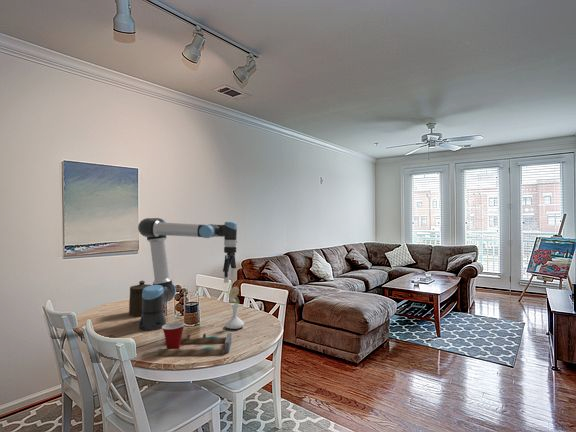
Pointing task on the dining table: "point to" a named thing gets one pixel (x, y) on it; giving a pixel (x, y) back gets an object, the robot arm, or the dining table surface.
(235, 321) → the flower in vase
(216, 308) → the dining table surface
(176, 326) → the plastic cup
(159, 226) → the robot arm
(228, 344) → the end stop
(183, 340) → the comb channel
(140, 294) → the wooden container
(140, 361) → the dining table surface
